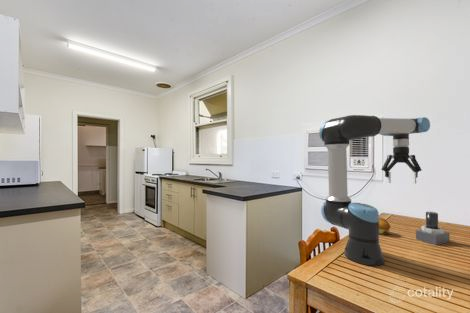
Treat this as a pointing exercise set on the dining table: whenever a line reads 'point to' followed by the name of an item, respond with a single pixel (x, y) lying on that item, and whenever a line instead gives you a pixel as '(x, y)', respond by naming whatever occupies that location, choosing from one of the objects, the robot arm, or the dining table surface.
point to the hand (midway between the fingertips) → (401, 183)
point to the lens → (432, 220)
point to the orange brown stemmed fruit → (383, 226)
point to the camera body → (432, 235)
